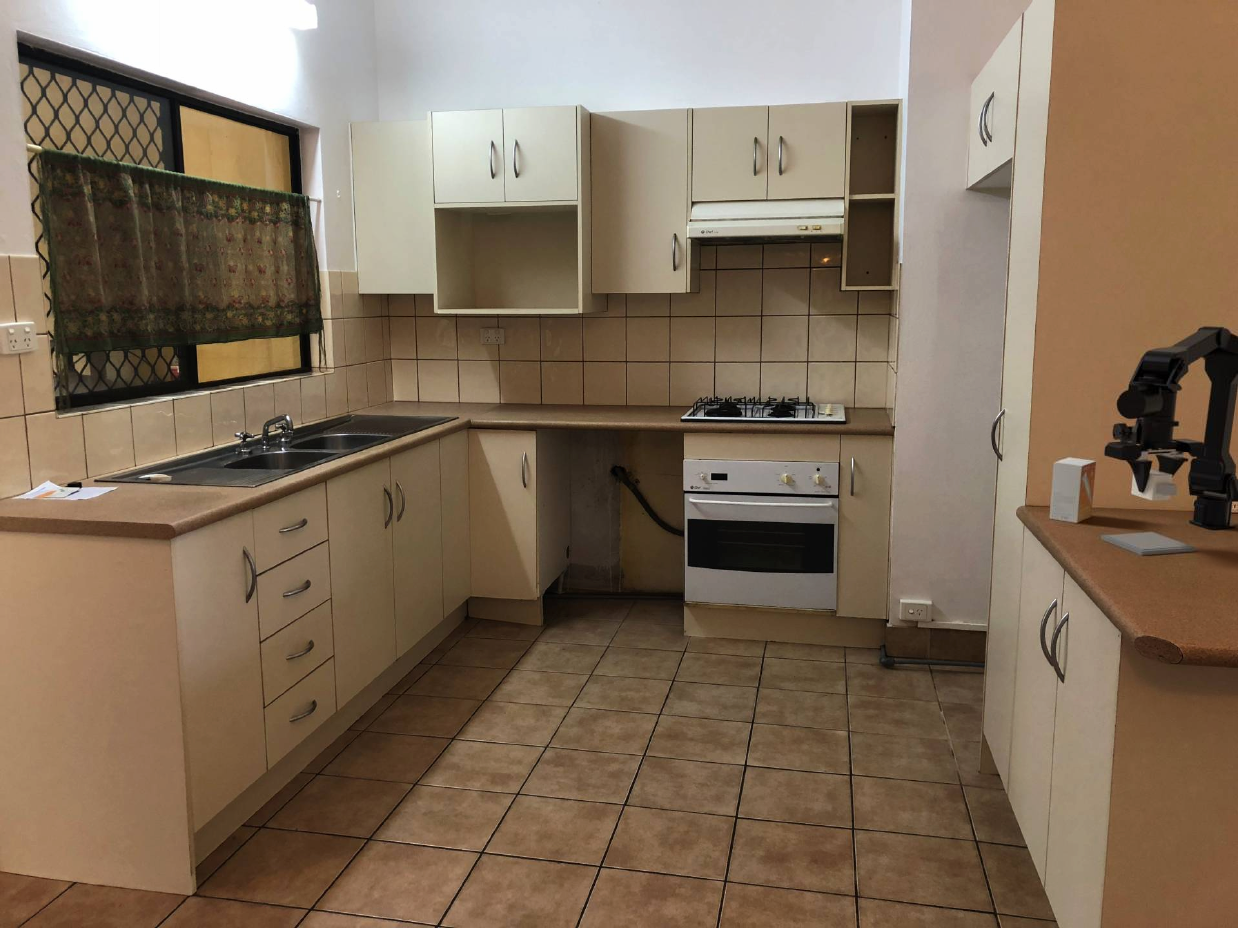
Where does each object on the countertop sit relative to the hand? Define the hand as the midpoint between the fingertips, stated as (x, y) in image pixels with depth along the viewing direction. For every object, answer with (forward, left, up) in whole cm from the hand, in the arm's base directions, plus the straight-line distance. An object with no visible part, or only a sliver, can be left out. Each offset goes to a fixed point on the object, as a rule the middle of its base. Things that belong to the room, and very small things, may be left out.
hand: (1150, 491), depth 199 cm
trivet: (0, 0, -11) cm, 11 cm away
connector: (0, +1, -1) cm, 2 cm away
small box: (+1, -23, -11) cm, 25 cm away
